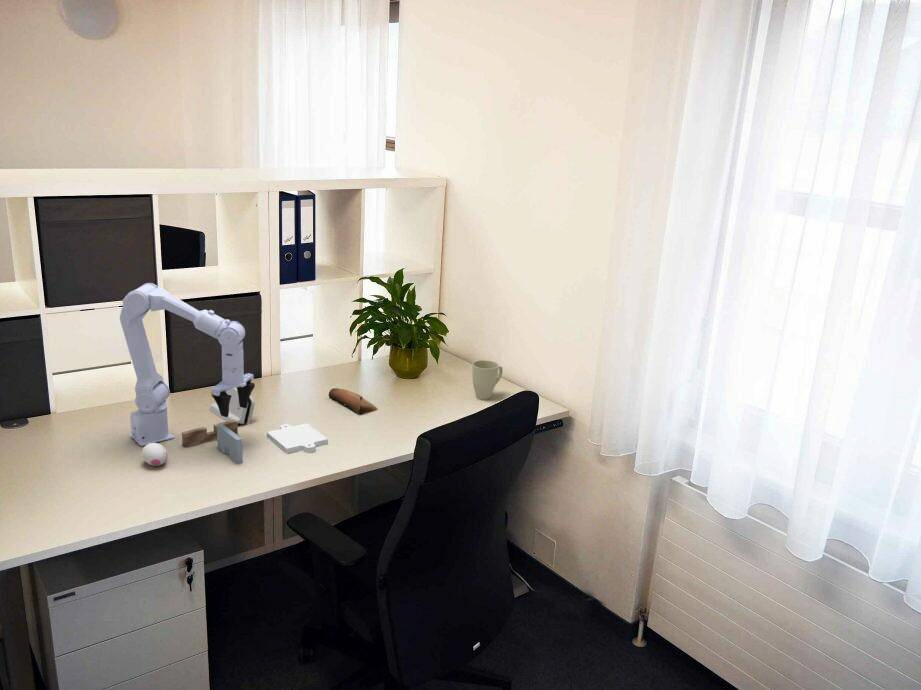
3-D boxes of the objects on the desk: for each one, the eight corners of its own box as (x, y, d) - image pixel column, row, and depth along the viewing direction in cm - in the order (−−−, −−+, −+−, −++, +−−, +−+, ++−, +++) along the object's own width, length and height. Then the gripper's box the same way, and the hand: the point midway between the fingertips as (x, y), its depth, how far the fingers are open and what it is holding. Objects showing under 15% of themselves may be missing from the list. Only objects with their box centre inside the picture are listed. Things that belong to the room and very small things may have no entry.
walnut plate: (184, 447, 217) (183, 434, 216) (182, 445, 218) (181, 432, 217) (237, 433, 228) (237, 421, 226) (235, 432, 229) (235, 419, 227)
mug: (497, 403, 263) (500, 370, 260) (468, 400, 265) (470, 367, 261) (500, 392, 274) (503, 360, 270) (473, 389, 275) (475, 357, 271)
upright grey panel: (237, 463, 210) (237, 440, 208) (217, 447, 218) (216, 424, 216) (242, 462, 211) (242, 438, 209) (222, 446, 219) (221, 423, 217)
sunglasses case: (380, 409, 252) (372, 395, 248) (365, 423, 249) (356, 409, 245) (349, 392, 264) (340, 378, 260) (333, 405, 261) (325, 392, 257)
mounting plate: (332, 448, 224) (332, 442, 223) (290, 458, 216) (290, 452, 215) (303, 426, 237) (303, 420, 236) (263, 434, 229) (263, 428, 228)
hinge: (208, 409, 243) (217, 379, 242) (221, 411, 246) (231, 381, 246) (235, 427, 231) (245, 396, 231) (249, 429, 235) (258, 397, 234)
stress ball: (168, 478, 207) (181, 456, 207) (142, 469, 201) (156, 447, 201) (157, 466, 212) (170, 445, 212) (131, 457, 206) (145, 435, 207)
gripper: (225, 376, 207) (226, 423, 211) (261, 362, 219) (262, 406, 224) (205, 371, 210) (207, 417, 214) (242, 357, 222) (243, 401, 226)
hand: (234, 411), depth 219 cm, fingers open, 7 cm apart
